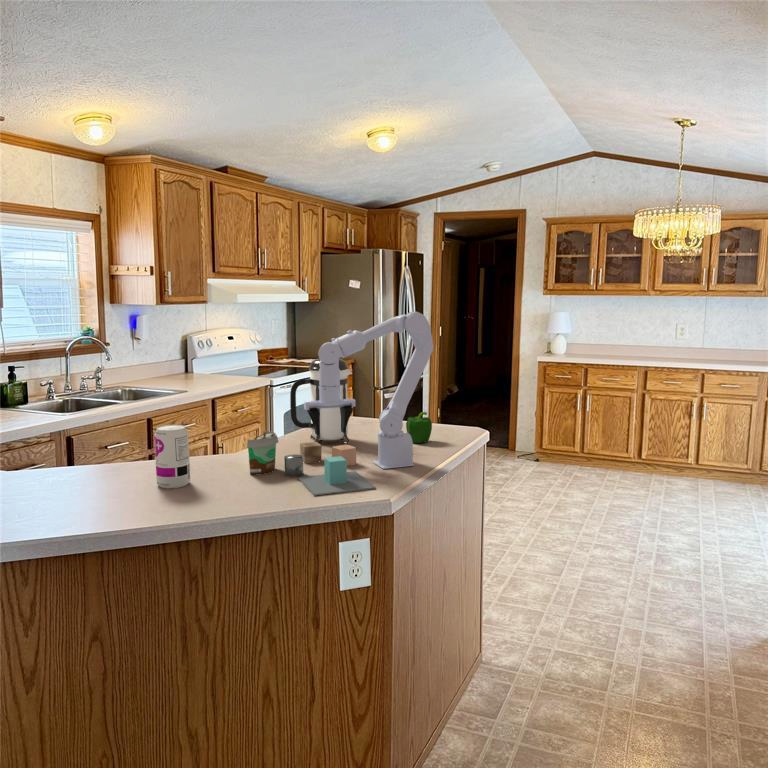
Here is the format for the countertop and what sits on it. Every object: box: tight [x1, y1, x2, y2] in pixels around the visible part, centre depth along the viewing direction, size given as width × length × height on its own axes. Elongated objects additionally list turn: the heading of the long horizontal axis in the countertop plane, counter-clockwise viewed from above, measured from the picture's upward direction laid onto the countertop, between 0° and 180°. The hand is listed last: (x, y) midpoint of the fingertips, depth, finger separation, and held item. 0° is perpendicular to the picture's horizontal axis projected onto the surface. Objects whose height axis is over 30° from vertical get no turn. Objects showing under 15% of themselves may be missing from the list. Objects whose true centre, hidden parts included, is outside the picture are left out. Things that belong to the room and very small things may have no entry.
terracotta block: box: [331, 443, 357, 466], centre depth 191 cm, size 5×5×5 cm
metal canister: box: [283, 453, 304, 477], centre depth 181 cm, size 5×5×5 cm
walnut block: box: [299, 441, 322, 464], centre depth 195 cm, size 5×5×5 cm
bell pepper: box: [405, 411, 433, 444], centre depth 218 cm, size 8×8×10 cm
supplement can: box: [153, 424, 191, 489], centre depth 171 cm, size 8×8×15 cm
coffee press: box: [289, 357, 353, 445], centre depth 217 cm, size 17×16×30 cm
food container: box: [246, 430, 279, 476], centre depth 184 cm, size 12×6×10 cm, turn 168°
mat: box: [297, 470, 377, 497], centre depth 172 cm, size 16×16×1 cm
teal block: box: [323, 456, 348, 485], centre depth 172 cm, size 4×4×6 cm
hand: (330, 433), depth 189 cm, fingers open, 7 cm apart
